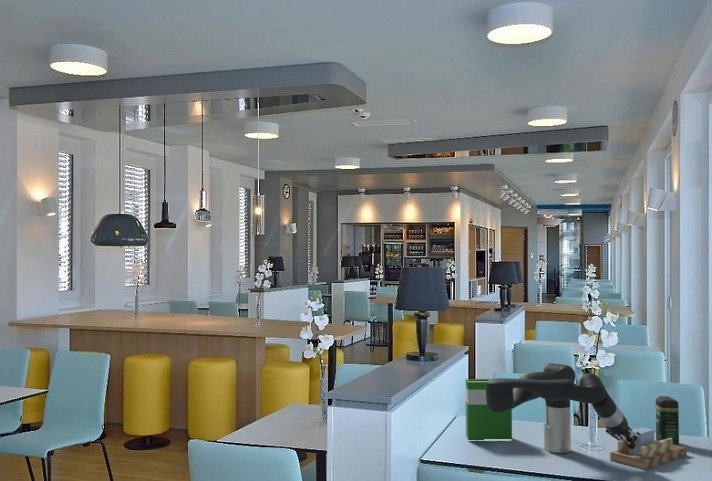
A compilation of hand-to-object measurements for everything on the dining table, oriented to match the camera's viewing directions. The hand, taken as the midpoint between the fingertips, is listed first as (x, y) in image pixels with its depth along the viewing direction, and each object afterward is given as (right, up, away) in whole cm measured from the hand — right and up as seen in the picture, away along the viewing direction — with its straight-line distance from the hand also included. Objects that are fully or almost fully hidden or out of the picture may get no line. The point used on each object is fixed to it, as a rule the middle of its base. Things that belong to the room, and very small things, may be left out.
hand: (632, 447), depth 252 cm
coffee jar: (+24, -7, +26) cm, 36 cm away
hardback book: (-45, -7, +35) cm, 58 cm away
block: (+5, -3, +4) cm, 7 cm away
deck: (+9, -6, +7) cm, 13 cm away
